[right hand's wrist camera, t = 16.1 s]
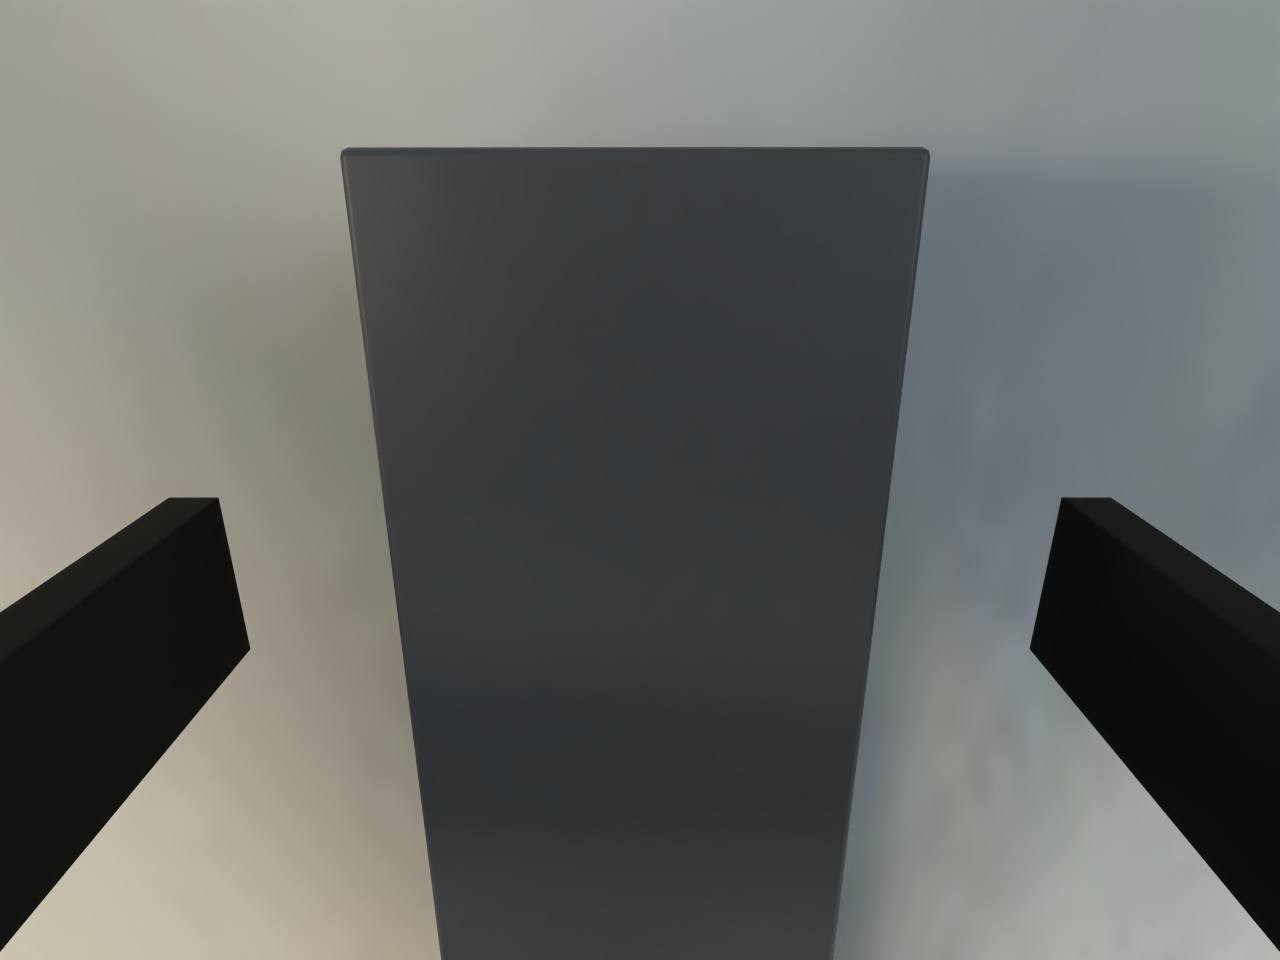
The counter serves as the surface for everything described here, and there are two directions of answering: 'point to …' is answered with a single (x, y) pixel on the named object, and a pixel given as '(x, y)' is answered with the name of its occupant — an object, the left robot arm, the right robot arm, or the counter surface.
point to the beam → (636, 525)
